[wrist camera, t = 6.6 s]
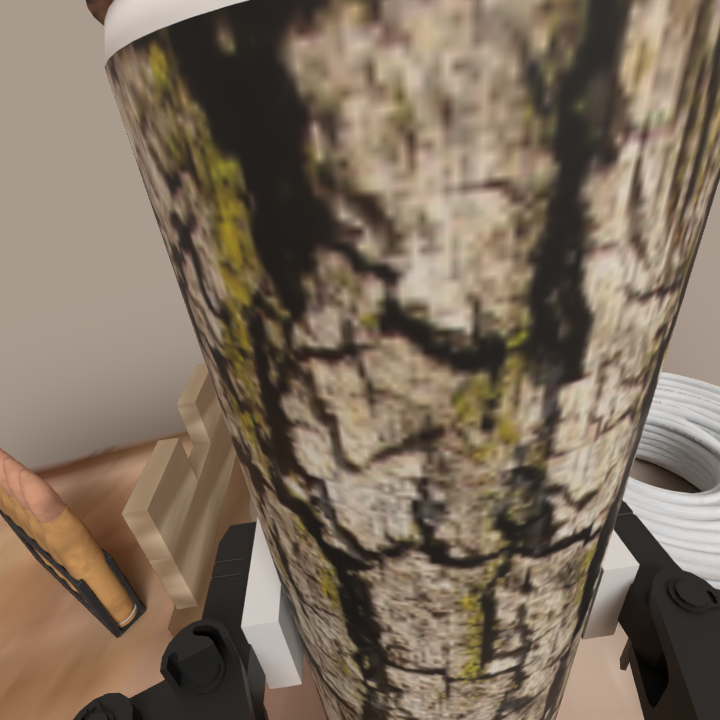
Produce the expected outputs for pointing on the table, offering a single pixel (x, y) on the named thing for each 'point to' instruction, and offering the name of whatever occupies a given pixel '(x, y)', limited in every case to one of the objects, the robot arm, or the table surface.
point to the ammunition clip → (66, 547)
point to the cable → (683, 474)
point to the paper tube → (429, 303)
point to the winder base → (190, 501)
